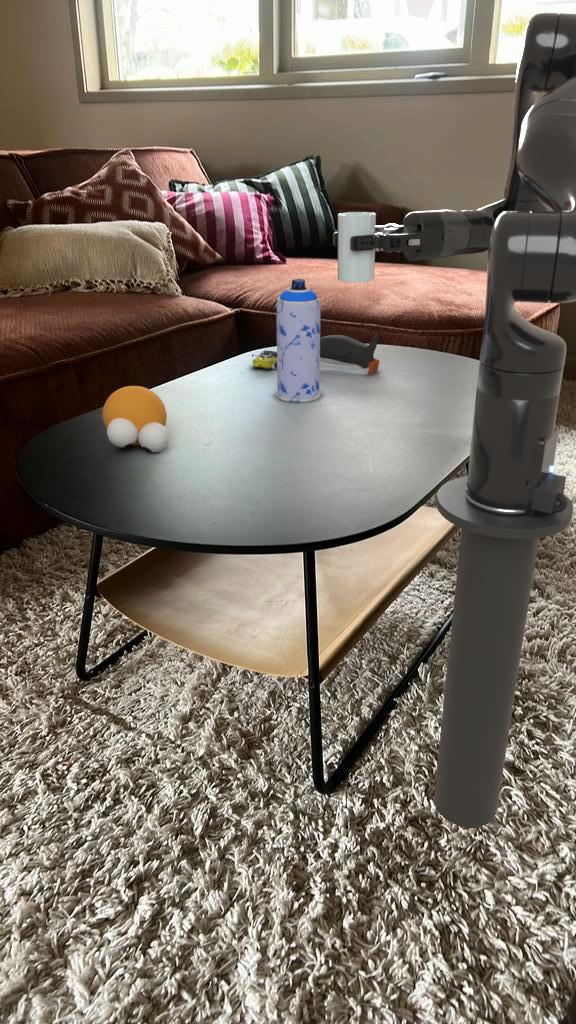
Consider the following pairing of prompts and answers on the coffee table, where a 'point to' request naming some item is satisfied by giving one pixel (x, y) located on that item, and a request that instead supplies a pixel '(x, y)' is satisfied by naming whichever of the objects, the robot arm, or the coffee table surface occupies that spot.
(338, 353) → the figurine
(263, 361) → the toy car
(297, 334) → the aerosol can
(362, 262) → the plastic cup
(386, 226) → the robot arm
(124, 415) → the toy
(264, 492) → the coffee table surface
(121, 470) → the coffee table surface
